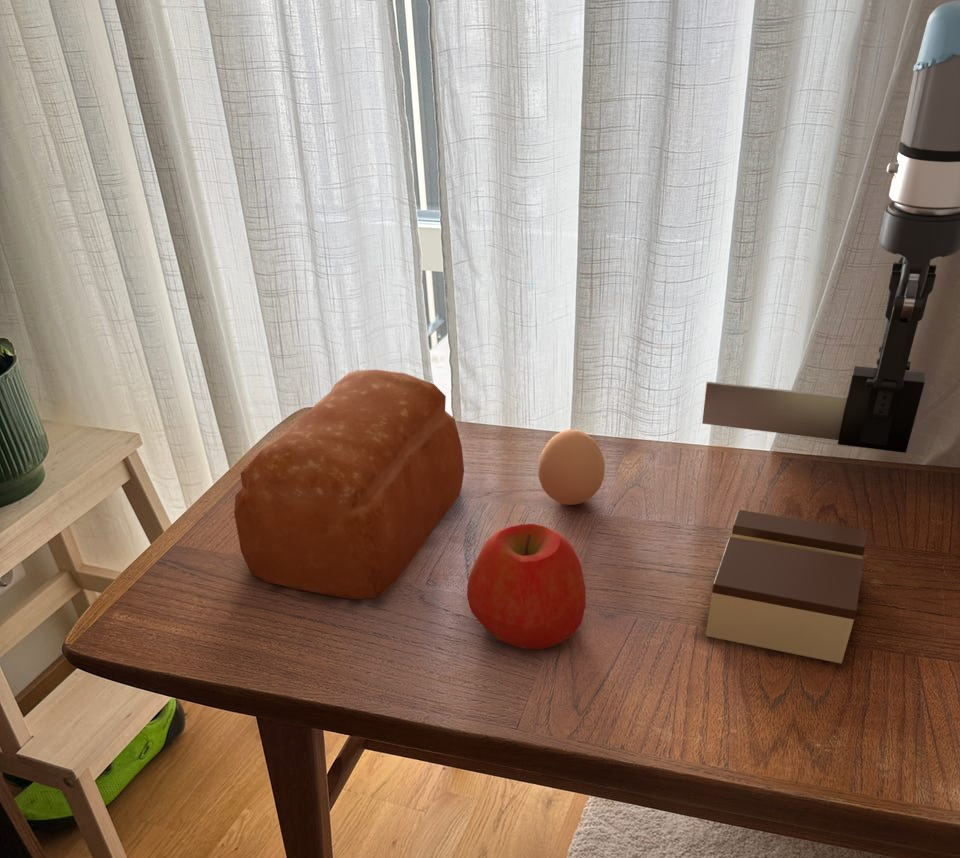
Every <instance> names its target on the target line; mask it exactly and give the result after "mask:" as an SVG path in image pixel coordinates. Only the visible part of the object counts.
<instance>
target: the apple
mask: <svg viewBox="0 0 960 858" xmlns="http://www.w3.org/2000/svg"><path fill="white" fill-rule="evenodd" d="M466 589H467V591H466V597H467V602H468V607H469V609H470V612H471V613H472V615H473V616H474V617H475V618H476V620H478V622H479V623H480V624H481V625H482V626H483V628H484V629H485V630H486V631H487V632H488V633H489V634H491V635H492V636H494V637H495V638H496V639H498V640H499V641H502V642H504V643H506V644H509V645H511V646H512V647H513V646H514V647H518V648H522V649H527V650H542V649H547V648H551V647H553V646H557V645H559V644H561V643H563V642H564V641H565V640H567V639H568V638H570V637H571V636H573V635H574V634H575V633H576V632H577V630H578V629H579V627H580V626H581V624H582V622H583V619H584V614H585V611H586V605H587V597H586V595H587V594H586V593H587V590H586V584H585V579H584V573H583V569H582V563H581V560H580V559H579V557H578V554H577V553H576V550H575V547H574V546H573V545H572V544H571V543H570V541H569V540H568V539H567V538H566V537H565V536H564V535H563V534H562V533H560V532H558V531H556V530H554V529H551V528H549V527H547V526H544V525H540V524H535V523H525V524H517V525H511V526H508V527H506V528H503V529H500V530H497V531H495V532H494V533H493V534H492V535H491V536H490V537H489V538H488V539H487V540H486V541H485V542H484V544H483V545H482V547H481V549H480V551H479V553H478V555H477V558H476V560H475V561H474V564H473V566H472V567H471V571H470V573H469V576H468V580H467V588H466Z"/></svg>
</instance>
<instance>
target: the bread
mask: <svg viewBox="0 0 960 858" xmlns="http://www.w3.org/2000/svg"><path fill="white" fill-rule="evenodd" d="M446 400H447V395H445V394H444V393H443V391H441V390H440V388H438V386H437V385H435V383H432V382H429V381H426V380H424V379H422V378H418V377H416V376H414V375H411V374H408V373H405V372H399V371H389V370H383V369H360V370H358V369H357V370H355V371H351V372H348V373H347V374H345V375H344V376H343V377H342V378H341V379H339V380H338V381H337V382H336V383H335V384H334V386H333V387H332V388H331V390H330V391H329V392H328V393H327V394H326V395H325V396H324V397H322V398H321V399H320V400H319V401H318V402H317V403H316V404H314V406H313V407H312V408H310V409H308V411H307V412H306V413H304V415H302V416H301V417H300V418H299V419H298V420H296V421H295V422H294V423H293V424H291V425H290V426H289V427H288V428H287V429H285V430H284V431H283V433H282V434H281V435H279V437H278V438H276V439H275V440H274V441H272V442H270V443H269V444H267V445H265V446H264V447H262V448H261V449H260V450H259V451H258V452H257V453H256V455H255V456H254V457H253V458H252V459H251V461H249V462H248V464H247V465H246V466H245V467H244V468H243V469H242V470H241V472H240V481H241V488H240V489H239V490H238V491H237V493H235V497H234V512H233V515H234V519H235V520H234V521H235V525H236V531H237V537H238V542H239V547H240V552H241V554H242V557H243V559H244V561H245V564H246V566H247V568H248V570H249V572H250V574H251V575H253V576H255V577H257V578H259V579H261V580H262V581H264V582H266V583H271V584H274V585H278V586H282V587H288V588H292V589H296V590H300V591H305V592H308V593H315V594H319V595H324V596H331V597H336V598H344V599H352V600H359V599H360V600H361V599H372V598H378V597H379V596H380V595H381V594H382V593H384V592H385V591H386V590H388V589H389V588H390V587H391V586H392V585H394V584H395V583H396V581H398V579H399V578H400V576H401V575H402V573H403V572H404V571H405V569H406V568H407V567H408V565H410V563H411V562H412V560H413V559H414V558H415V557H416V555H417V554H418V553H419V551H420V550H421V549H422V548H423V546H424V545H425V543H426V542H427V541H428V539H429V538H430V537H431V535H432V533H433V532H434V530H435V529H436V528H437V526H438V525H439V524H440V521H441V520H442V519H444V517H445V515H446V514H447V513H448V512H449V510H450V509H451V508H452V507H453V506H454V504H455V503H456V502H457V500H458V499H459V497H460V494H461V491H462V488H463V482H464V474H465V466H464V465H465V464H464V455H463V447H462V443H461V438H460V434H459V429H458V425H457V421H456V418H454V417H453V416H452V415H451V414H450V413H449V412H448V411H447V410H446Z"/></svg>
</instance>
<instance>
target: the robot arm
mask: <svg viewBox="0 0 960 858" xmlns="http://www.w3.org/2000/svg"><path fill="white" fill-rule="evenodd" d="M919 48H920V49H919V52H918V56H917V59H916V63H915V64H914V65H913V69H912V71H913V75H912V79H911V80H912V81H911V85H910V91H909V95H908V101H907V105H906V110H905V111H906V112H905V115H904V122H903V125H902V132H901V137H900V141H899V145H898V153H897V155H896V160H897V161H894V162H893V161H892V162H889V163H888V164H887V167H886V172H887V174H889V175H893V177H892V179H891V183H890V188H889V192H888V197H889V198H890V199H891V202H889V203H888V205H886V206H885V209H884V212H883V218H882V221H881V222H882V223H881V226H880V232H879V237H878V244H879V246H880V248H881V249H883V250H884V251H886V252H887V253H890V254H892V255H900V256H901V257H900V259H898V262H894V261H893V263H892V266H891V271H890V276H889V277H890V278H889V282H888V290H889V291H888V295H887V301H886V309H885V318H886V324H885V328H884V333H883V337H882V341H881V345H880V346H879V349H878V354H879V358H877V360H876V368H878V371H877V376H876V377H875V378H874V379H868V381H867V385H866V386H869V387H872V390H871V394H870V398H869V403H868V407H867V411H866V416H865V420H864V424H863V428H862V433H861V437H860V442H863V443H871V444H879V445H886V444H887V441H888V437H889V433H890V429H891V425H892V421H893V417H894V413H895V409H896V405H897V401H898V397H899V393H900V390H901V389H902V387H903V384H904V382H903V379H904V375H905V371H910V369H911V362H912V361H909V359H910V355H911V351H912V348H913V343H914V339H915V336H916V332H917V329H918V324H919V322H921V321H922V320H923V318H924V316H925V315H924V314H925V310H926V306H927V302H928V299H929V295H930V294H931V293H932V292H933V290H934V287H935V282H936V277H937V273H936V270H937V267H938V266H937V264H931V261H932V260H933V259H936V258H940V257H942V258H946V257H951V256H953V255H955V254H958V252H960V0H952V1H948V2H944V3H942V4H939V6H937V7H936V8H934V10H933V11H931V13H930V15H929V16H928V19H927V22H926V26H925V29H924V33H923V37H922V41H921V44H920V47H919Z"/></svg>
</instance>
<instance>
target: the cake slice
mask: <svg viewBox="0 0 960 858" xmlns="http://www.w3.org/2000/svg"><path fill="white" fill-rule="evenodd" d="M731 537H735V538H741V539H747V540H753V541H759V542H765V543H770V544H776V545H782V546H788V547H794V548H800V549H806V550H812V551H818V552H823V553H829V554H835V555H841V556H847V557H853V558H859V559H864V558H863V557H864V553H865V550H866V544H867V538H868V530H867V529H861V528H856V527H849V526H843V525H838V524H837V525H836V524H831V523H825V522H819V521H813V520H805V519H800V518H793V517H787V516H781V515H774V514H770V513H769V514H768V513H762V512H755V511H749V510H743V509H738V510H737V513H736V515H735V519H734V522H733V526H732V532H731Z"/></svg>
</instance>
